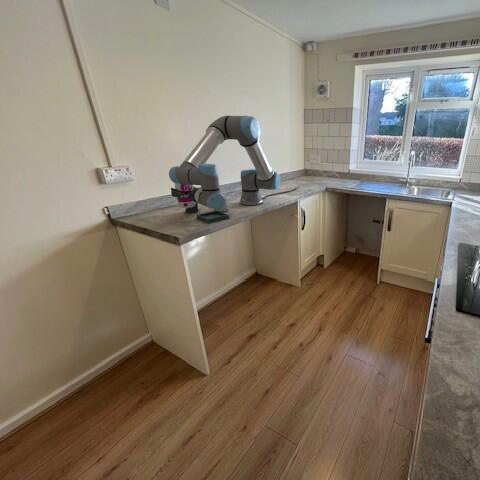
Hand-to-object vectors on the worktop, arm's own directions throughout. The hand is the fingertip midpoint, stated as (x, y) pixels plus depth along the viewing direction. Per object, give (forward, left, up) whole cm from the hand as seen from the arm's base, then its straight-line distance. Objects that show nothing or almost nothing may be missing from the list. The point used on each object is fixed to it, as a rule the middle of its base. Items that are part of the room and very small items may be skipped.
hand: (180, 189), depth 136 cm
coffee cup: (-10, -13, -17) cm, 24 cm away
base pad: (-12, +8, -17) cm, 22 cm away
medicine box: (-23, -3, -17) cm, 29 cm away
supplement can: (0, +5, -8) cm, 10 cm away
